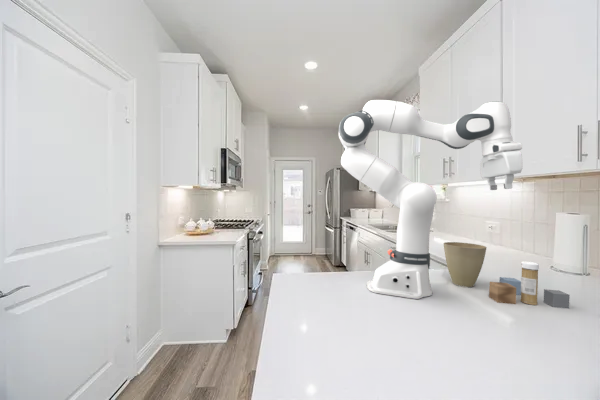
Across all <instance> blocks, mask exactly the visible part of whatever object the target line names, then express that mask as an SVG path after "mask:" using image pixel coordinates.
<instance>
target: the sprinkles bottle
mask: <svg viewBox="0 0 600 400" xmlns="http://www.w3.org/2000/svg"><path fill="white" fill-rule="evenodd" d="M520 265H521V266H520V267H521V278H520V279H521V280H520V281H521V295H520V300H519V301H520V303H521V302H522V303H523V304H526V305H532V306H537V305H539V304H538V294H539V269H540V264H539V263H537V262H533V261H521V264H520Z"/></svg>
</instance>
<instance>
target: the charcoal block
mask: <svg viewBox="0 0 600 400" xmlns="http://www.w3.org/2000/svg"><path fill="white" fill-rule="evenodd" d="M570 295H571V294H570V293H569V294H568V293H567V292H564V291H561V290H559V289H558V290H555V289H547V288H546V289H545V288H544V289H543V303H544V304H546V305H548V306H550V307H552V308H557V309H570Z"/></svg>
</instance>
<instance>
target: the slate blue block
mask: <svg viewBox="0 0 600 400" xmlns="http://www.w3.org/2000/svg"><path fill="white" fill-rule="evenodd" d="M498 282H501V283H508V284H510V285H512V286H514V287H516V296H521V280H519V279H517V278H514V277H505V276H504V277H503V276H500V277H499V281H498Z"/></svg>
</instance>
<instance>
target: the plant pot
mask: <svg viewBox="0 0 600 400" xmlns="http://www.w3.org/2000/svg"><path fill="white" fill-rule="evenodd" d="M443 249H444V257H445V263H446V266H447V270H448V273H449V276H450V280H451V282H452V284H453V285H456V286H458V287H463V288H473V287H475V285H476V282H477V280H478V278H479V276H480V274H481V270H482V268H483V264H484V261H485V257H486V252H487V246H485V245H482V244H476V243H470V242H469V243H468V242H459V241H457V242H456V241H447V242H443Z"/></svg>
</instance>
